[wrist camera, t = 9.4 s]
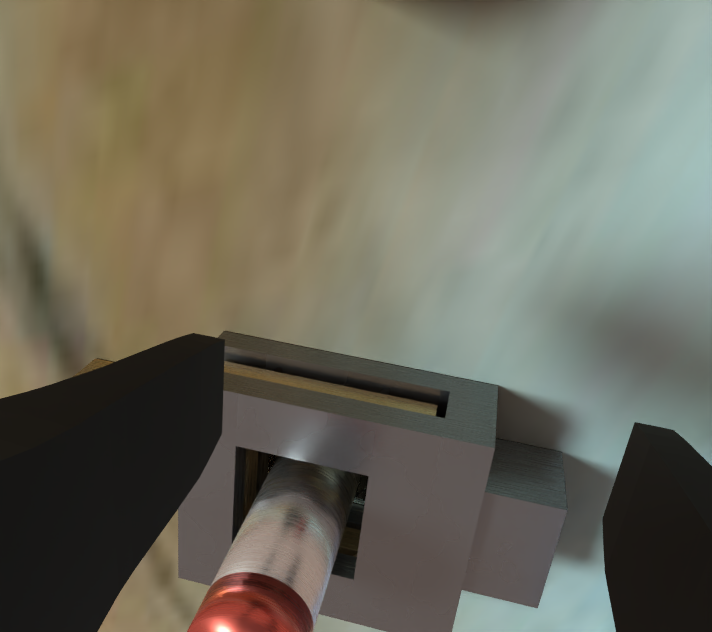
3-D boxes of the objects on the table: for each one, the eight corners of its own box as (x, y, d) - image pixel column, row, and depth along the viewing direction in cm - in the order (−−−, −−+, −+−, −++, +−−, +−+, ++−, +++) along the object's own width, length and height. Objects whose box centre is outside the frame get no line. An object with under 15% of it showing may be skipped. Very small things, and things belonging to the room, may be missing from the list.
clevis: (576, 401, 22) (586, 467, 19) (523, 584, 25) (524, 667, 22) (92, 304, 24) (28, 348, 21) (103, 482, 28) (49, 543, 25)
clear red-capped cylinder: (381, 469, 25) (322, 689, 17) (316, 499, 26) (231, 719, 18) (333, 405, 24) (247, 602, 16) (269, 439, 25) (158, 639, 17)
